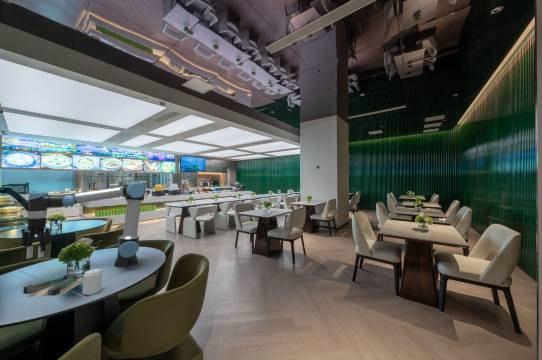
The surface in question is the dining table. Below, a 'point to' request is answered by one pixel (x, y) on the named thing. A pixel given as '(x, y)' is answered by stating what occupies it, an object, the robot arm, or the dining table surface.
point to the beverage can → (92, 281)
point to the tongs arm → (46, 284)
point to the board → (44, 291)
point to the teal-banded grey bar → (62, 285)
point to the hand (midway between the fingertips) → (35, 257)
